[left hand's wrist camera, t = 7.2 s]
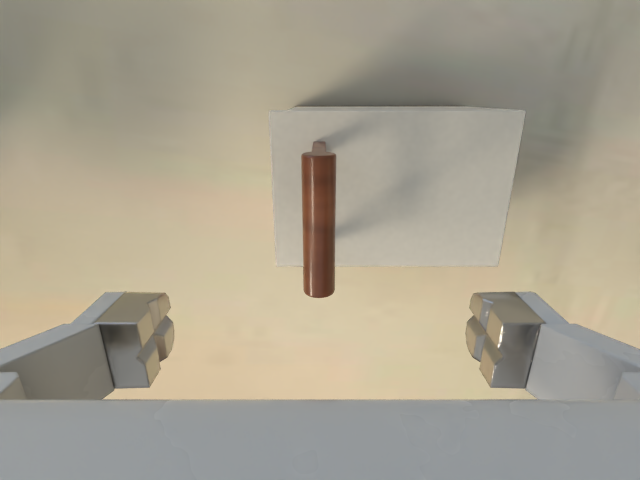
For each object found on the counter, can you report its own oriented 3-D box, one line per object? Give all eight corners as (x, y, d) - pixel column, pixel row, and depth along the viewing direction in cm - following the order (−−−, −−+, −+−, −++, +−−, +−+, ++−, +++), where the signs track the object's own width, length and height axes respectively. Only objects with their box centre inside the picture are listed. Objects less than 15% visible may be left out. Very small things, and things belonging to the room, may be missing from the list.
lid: (277, 260, 25) (260, 326, 18) (270, 110, 22) (245, 116, 15) (491, 260, 25) (560, 326, 18) (518, 109, 22) (615, 116, 15)
